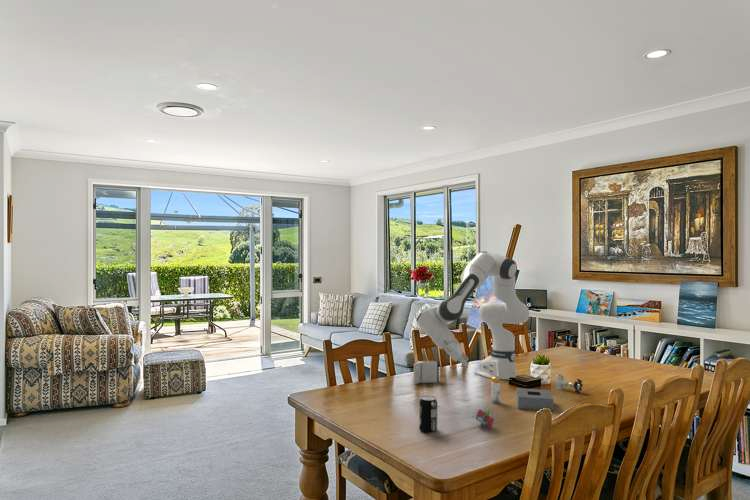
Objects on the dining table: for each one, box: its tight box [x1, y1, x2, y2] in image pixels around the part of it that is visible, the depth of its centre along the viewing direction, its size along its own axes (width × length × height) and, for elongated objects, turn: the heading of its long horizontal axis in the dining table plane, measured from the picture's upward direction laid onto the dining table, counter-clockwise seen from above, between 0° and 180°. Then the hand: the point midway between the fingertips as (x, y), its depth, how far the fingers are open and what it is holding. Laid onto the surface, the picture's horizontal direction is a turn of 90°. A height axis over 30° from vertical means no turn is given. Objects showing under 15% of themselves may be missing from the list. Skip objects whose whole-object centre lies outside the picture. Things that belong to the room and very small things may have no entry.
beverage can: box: [418, 394, 438, 434], centre depth 185 cm, size 7×7×12 cm
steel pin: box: [490, 376, 501, 405], centre depth 220 cm, size 4×4×11 cm
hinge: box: [413, 360, 440, 385], centre depth 254 cm, size 14×5×10 cm, turn 106°
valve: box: [555, 373, 584, 394], centre depth 240 cm, size 7×7×12 cm
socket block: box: [515, 387, 554, 412], centre depth 216 cm, size 14×14×5 cm
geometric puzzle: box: [475, 409, 495, 430], centre depth 188 cm, size 7×7×8 cm
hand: (467, 362), depth 222 cm, fingers open, 8 cm apart
